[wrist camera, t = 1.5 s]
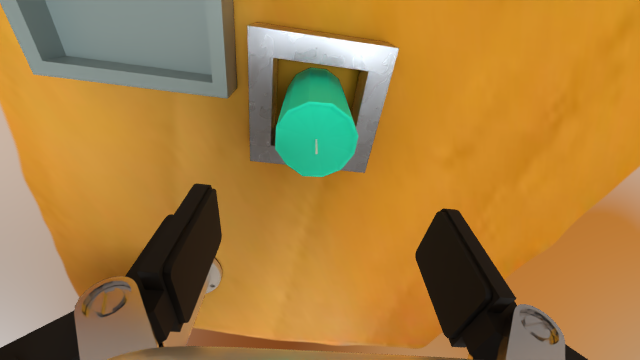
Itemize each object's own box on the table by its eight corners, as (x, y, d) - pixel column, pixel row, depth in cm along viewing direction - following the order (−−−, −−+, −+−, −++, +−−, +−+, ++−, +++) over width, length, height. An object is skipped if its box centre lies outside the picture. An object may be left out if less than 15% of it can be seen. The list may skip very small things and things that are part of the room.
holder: (359, 154, 31) (364, 172, 27) (257, 143, 30) (250, 160, 26) (387, 42, 24) (399, 48, 21) (256, 22, 23) (247, 25, 20)
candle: (319, 53, 25) (324, 87, 15) (355, 101, 27) (379, 158, 17) (274, 93, 27) (251, 147, 17) (311, 135, 29) (311, 202, 19)
